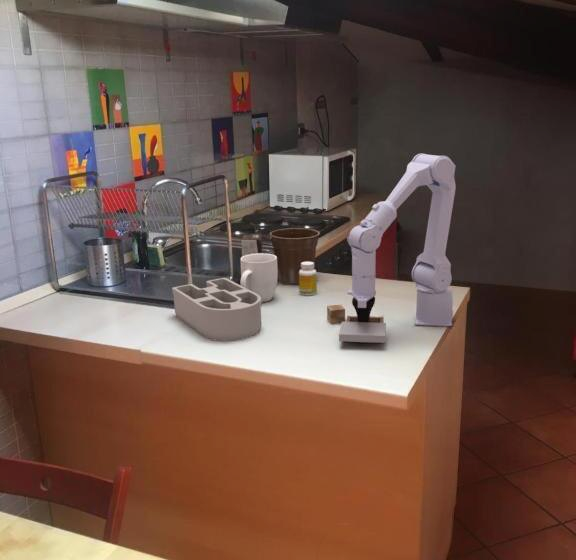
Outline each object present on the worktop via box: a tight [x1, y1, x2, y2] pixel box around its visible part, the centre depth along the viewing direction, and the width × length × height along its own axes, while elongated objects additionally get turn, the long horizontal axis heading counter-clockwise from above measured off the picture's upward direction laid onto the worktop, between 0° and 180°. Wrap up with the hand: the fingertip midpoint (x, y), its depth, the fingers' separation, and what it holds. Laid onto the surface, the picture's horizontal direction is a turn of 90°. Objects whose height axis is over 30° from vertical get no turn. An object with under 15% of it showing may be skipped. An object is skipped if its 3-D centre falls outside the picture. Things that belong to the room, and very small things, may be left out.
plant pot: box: [269, 227, 321, 286], centre depth 209 cm, size 16×16×16 cm
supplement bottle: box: [298, 262, 318, 296], centre depth 196 cm, size 5×5×10 cm
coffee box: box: [240, 233, 264, 257], centre depth 206 cm, size 9×6×16 cm
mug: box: [239, 252, 278, 303], centre depth 190 cm, size 15×11×13 cm
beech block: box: [326, 304, 346, 325], centre depth 172 cm, size 4×4×4 cm
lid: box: [338, 321, 387, 344], centre depth 156 cm, size 11×8×2 cm
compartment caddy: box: [171, 277, 262, 341], centre depth 173 cm, size 17×28×9 cm, turn 31°
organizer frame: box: [342, 315, 385, 344], centre depth 164 cm, size 10×14×2 cm
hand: (363, 325), depth 161 cm, fingers closed
